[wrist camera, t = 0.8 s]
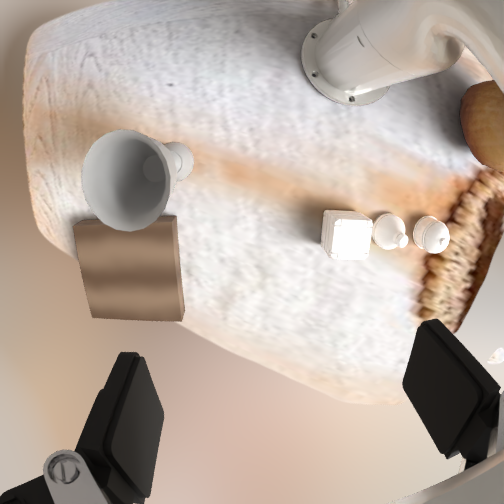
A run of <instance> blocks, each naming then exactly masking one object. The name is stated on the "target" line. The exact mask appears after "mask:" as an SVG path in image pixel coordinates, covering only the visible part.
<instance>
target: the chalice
mask: <svg viewBox="0 0 504 504" xmlns="http://www.w3.org/2000/svg"><path fill="white" fill-rule="evenodd" d="M193 165H194V158H193V154H192V152H191V151H190V149H189V148H188V147H187V146H186V145H184V144H182V143H179V142H171V143H167V144H166V145H163V144H162V143H161V142H159V141H157V140H155V139H153V138H149V137H147V136H146V135H143V134H141V133H139V132H136V131H134V130H121V129H119V130H115V131H112V132H110V133H107V134H104V135H103V136H102V137H101V138H99V139H98V140H97V141H96V142H95V143H93V145H92V147H91V148H90V150H89V151H88V153H87V155H86V156H85V160H84V163H83V167H82V189H83V192H84V196H85V200H86V202H87V204H88V205H89V207H90V209H91V210H92V212H93V214H95V215H96V216H97V217H98V218H99V219H100V220H101V221H102V222H103V223H104V224H106V225H108V226H110V227H112V228H114V229H116V230H122V231H129V232H131V231H135V230H140V229H144V228H145V227H147V226H148V225H150V224H152V223H153V222H155V221H156V220H157V218H158V217H159V216H160V214H161V213H162V212H163V210H164V209H165V207H166V204H167V201H168V198H169V197H170V195H171V194H172V193H173V190H174V187H175V185H176V182H177V181H182V180H183V179H185V178H186V177H187V176H188V175H189V174H190V173H191V171H192V169H193Z"/></svg>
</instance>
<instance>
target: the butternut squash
mask: <svg viewBox="0 0 504 504" xmlns="http://www.w3.org/2000/svg"><path fill="white" fill-rule="evenodd" d="M460 119H461V126H462V130H463V133H464V138H465V140H466V142H467V144H468V146H469V148H470V150H471V152H472V154H473V155H474V157H475V158H476V159H477V160H478V161H479V162H480V163H481V164H482V165H486V166H488V167H489V168H492V169H495V170H498V171H501V172H504V94H503V92H502V91H501V89H500V88H499V86H498V85H497V83H496V82H495V81H494V80H492V81H486V82H482V83H479V84H475V85H473V86H471V87H470V88H469V89H468V90H467V91H466V93H465V95H464V96H463V98H462V99H461V107H460Z"/></svg>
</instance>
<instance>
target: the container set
mask: <svg viewBox="0 0 504 504" xmlns="http://www.w3.org/2000/svg"><path fill="white" fill-rule="evenodd" d="M323 215H324V216H323V224H322V234H321V247H322V248H323V250H324V251H325V252H326V253H327V255H328V256H329V258H332V259H336V258H337V259H361V258H362V259H366V258H367V257H368V253H369V247H370V240H371V234H372V238H373V240H374V242H375V243H376V244H377V245H379V246H380V247H381V248H383V249H393V248H395V247H397V246H399V247H405V246H406V245H407V243H408V237H407V235H405V225H404V223H403V221H402V220H401V219H400V218H399V217H397V216H396V215H394V214H391V213H385V214H382V215H380V216H379V217H378V218H377V219H376V220H375V221H374V223H372V220H371V219H369V218H368V217H366V216H365V215H363V214H362V213H360V212H356V211H354V212H353V211H342V210H325V211H324V213H323ZM413 239H414V242H415V244H416V245H417V246H418V247H420V248H422V249H424V250H426V251H427V252H429V253H439V252H441V251H443V250H444V249H445V248H446V247H447V245H448V243H449V231H448V228H447V227H446V226H445V224H444V223H442V222H441V221H438V220H437V219H436V218H434V217H433V216H424V217H422V218H421V219H419V220H418V222H417V223H416V225H415V227H414V230H413Z"/></svg>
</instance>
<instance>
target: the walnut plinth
mask: <svg viewBox="0 0 504 504" xmlns="http://www.w3.org/2000/svg"><path fill="white" fill-rule="evenodd" d="M73 230H74V236H75V242H76V248H77V253H78V258H79V264H80V268H81V273H82V278H83V282H84V287H85V291H86V295H87V299H88V303H89V307H90V311H91V314H92V317H93V318H104V319H105V318H106V319H123V320H146V321H182V319H183V315H184V312H185V307H184V298H183V288H182V278H181V268H180V257H179V244H178V231H177V216H165V217H158V218H157V220H156V221H155V222H153V223H152V224H150V225H148V226H147V227H145V228H144V229H140V230H135V231H131V232H129V231H122V230H116V229H114V228H112V227H110V226H108V225H106V224H104V223H103V222H102V221H101V220H100V219H97V220H82V221H81V222H79V223H77V224H76V225H74V226H73Z"/></svg>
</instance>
